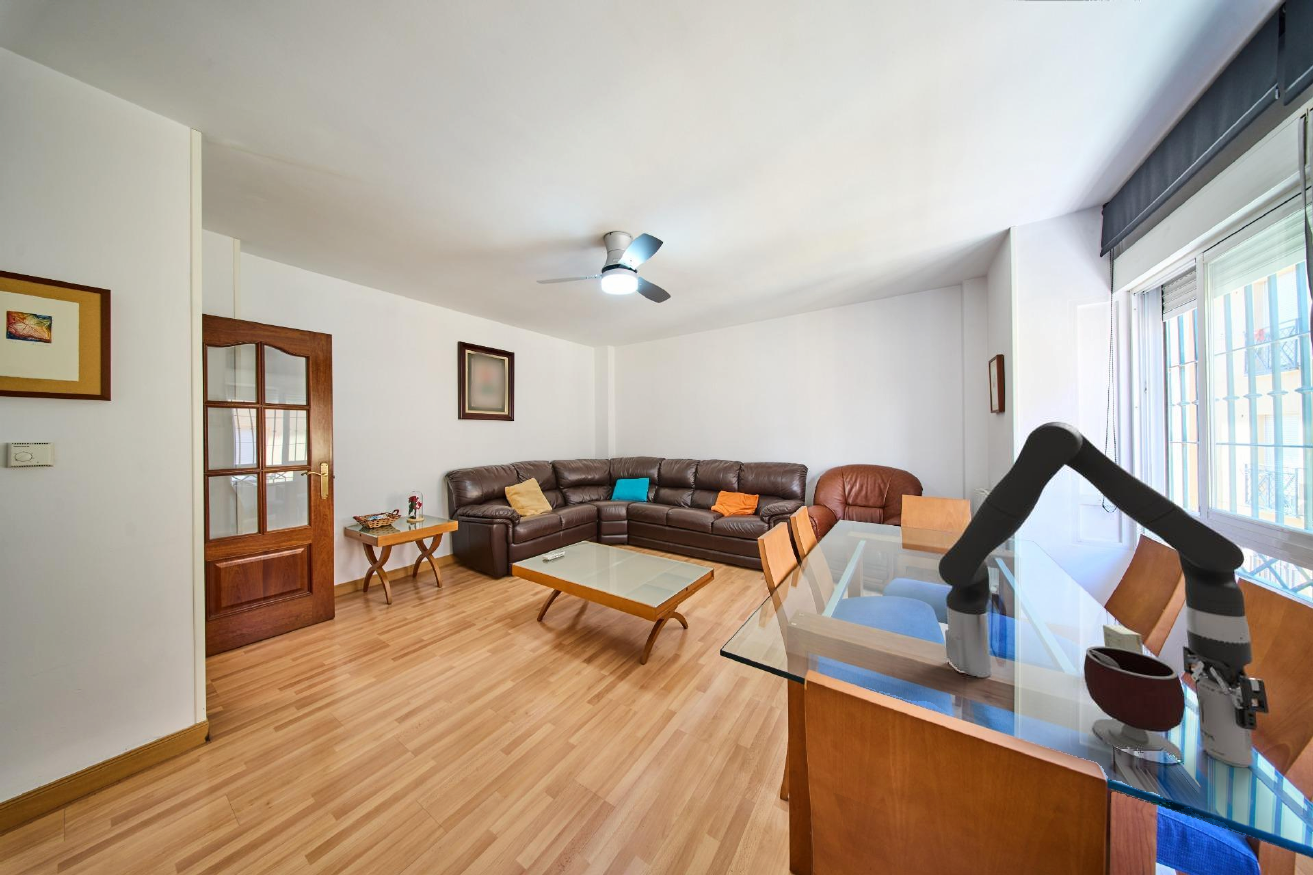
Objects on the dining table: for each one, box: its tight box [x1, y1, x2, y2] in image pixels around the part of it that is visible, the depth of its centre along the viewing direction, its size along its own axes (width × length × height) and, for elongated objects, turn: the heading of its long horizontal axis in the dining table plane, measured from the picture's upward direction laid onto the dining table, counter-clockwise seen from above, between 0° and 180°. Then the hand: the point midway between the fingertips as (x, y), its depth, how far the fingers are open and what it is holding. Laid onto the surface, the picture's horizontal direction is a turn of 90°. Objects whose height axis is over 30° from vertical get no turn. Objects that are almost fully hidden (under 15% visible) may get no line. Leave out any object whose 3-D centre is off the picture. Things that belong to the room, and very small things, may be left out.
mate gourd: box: [1083, 645, 1186, 761], centre depth 86 cm, size 16×14×20 cm
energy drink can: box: [1196, 676, 1254, 768], centre depth 81 cm, size 6×6×15 cm
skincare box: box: [1102, 624, 1144, 654], centre depth 109 cm, size 6×4×12 cm
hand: (1225, 714), depth 81 cm, fingers open, 8 cm apart
